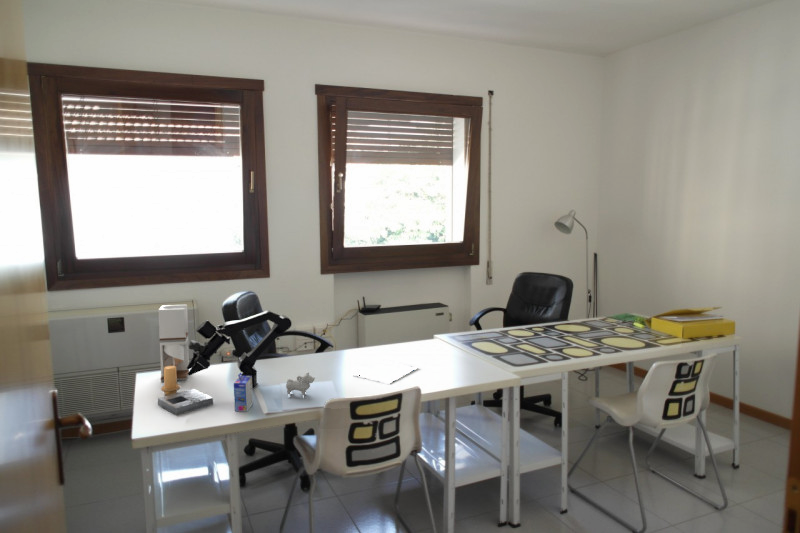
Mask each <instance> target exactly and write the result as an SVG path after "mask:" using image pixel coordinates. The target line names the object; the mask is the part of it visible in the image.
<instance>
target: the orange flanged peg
mask: <svg viewBox="0 0 800 533" xmlns="http://www.w3.org/2000/svg"><path fill="white" fill-rule="evenodd" d="M177 382H178V381H177V374H176V366H167V367H164V382H163V383H164V384H163V386H161V388H160V391H162V392H164V396H167V395H171V394H175V393H178V391H179V390H180V389H181V385H180V384H178V383H177Z"/></svg>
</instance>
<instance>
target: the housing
mask: <svg viewBox="0 0 800 533" xmlns="http://www.w3.org/2000/svg"><path fill="white" fill-rule="evenodd" d="M213 400H214V398H213V397H212V396H211V395H208V394H206V393H204V392H202V391H199V390H198V389H196V388H190V389H186V390H183V391H177V393H175V394H171V395H167V396H165V395H164V396H160V397H157V405H158V406H159V407H161V408H162V409H165V411H168V412H170V413H172V414H173V415H174V416H179V415H182V414H185V413H189V412H192V411H195V410H199V409H202V408H206V407H209V406H212V405H214V401H213Z"/></svg>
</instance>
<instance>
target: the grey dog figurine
mask: <svg viewBox="0 0 800 533" xmlns="http://www.w3.org/2000/svg"><path fill="white" fill-rule="evenodd" d="M315 380H316V377H313V376H312V375H310V372H306V373H305V374H304V375H302V376H301V375H298V376H296V380H293V379H290V378H289V379H287V381H286V385H285V388H286V392H287V395H288V394H290V392H291V391H292V392H293V391H297V392H298V391H299V392H301V396H302V395H305V392H306V393H307V390H309V389H310V387H311V384H312V383H313V384H314V381H315ZM290 395H291V394H290ZM305 396H306V395H305Z"/></svg>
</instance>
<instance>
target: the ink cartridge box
mask: <svg viewBox="0 0 800 533" xmlns="http://www.w3.org/2000/svg"><path fill="white" fill-rule="evenodd" d="M237 376H238V378H237V379H236V380H235V381H234V382H233V396H234V397H233V398H234V399H233V401H234V412H248V411H249V409H250V407H251V406H252V404H253V401H254V400H253V399H254V397H253V395H254V394H253V389H252V376H243V375H242V372H240V373H239V374H238V375H237Z"/></svg>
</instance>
